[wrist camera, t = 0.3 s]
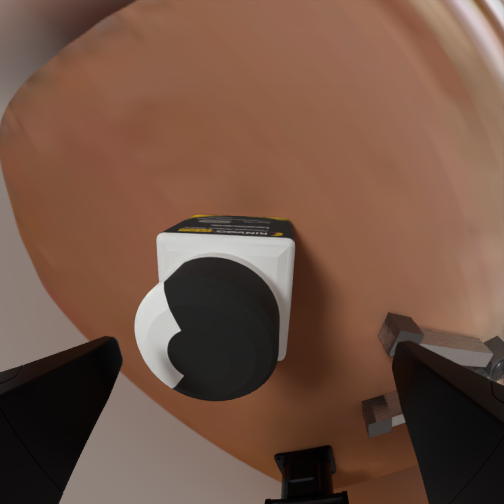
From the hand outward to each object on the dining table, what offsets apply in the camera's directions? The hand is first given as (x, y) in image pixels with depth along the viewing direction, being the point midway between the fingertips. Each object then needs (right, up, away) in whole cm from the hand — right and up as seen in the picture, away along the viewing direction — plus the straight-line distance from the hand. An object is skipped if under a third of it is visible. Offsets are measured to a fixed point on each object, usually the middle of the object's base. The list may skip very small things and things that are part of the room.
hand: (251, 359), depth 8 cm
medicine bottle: (-1, +2, +14) cm, 14 cm away
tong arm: (+17, -4, +13) cm, 22 cm away
